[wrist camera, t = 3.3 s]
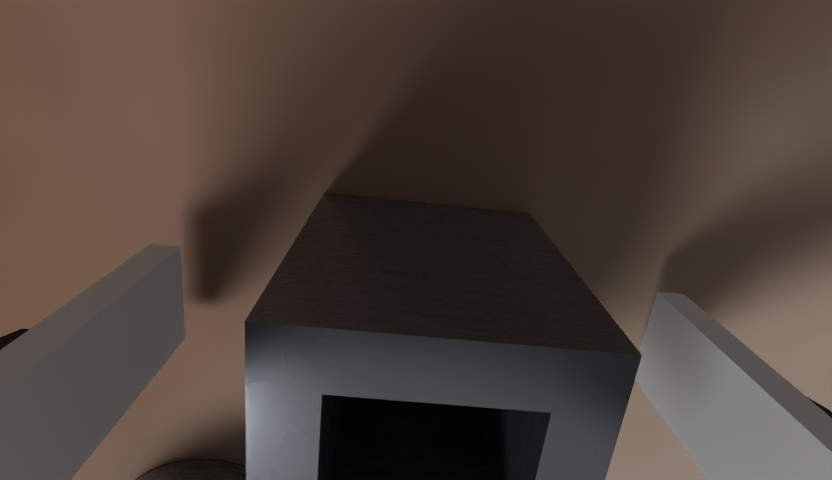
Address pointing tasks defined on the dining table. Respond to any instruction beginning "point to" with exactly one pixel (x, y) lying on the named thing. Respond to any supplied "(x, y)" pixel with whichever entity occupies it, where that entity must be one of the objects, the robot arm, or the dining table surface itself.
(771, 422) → the robot arm
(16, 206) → the dining table surface
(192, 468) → the ratchet
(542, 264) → the socket
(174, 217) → the dining table surface
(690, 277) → the dining table surface
